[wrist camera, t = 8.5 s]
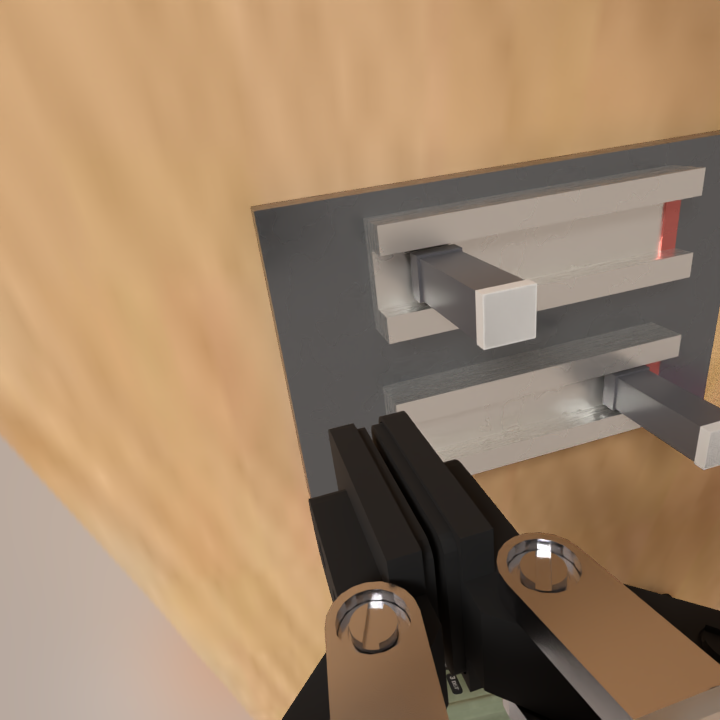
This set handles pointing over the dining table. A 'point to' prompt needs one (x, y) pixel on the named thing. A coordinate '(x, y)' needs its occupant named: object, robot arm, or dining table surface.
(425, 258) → the handle
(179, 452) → the dining table surface
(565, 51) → the dining table surface
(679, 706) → the robot arm
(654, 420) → the handle
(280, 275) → the breaker panel
